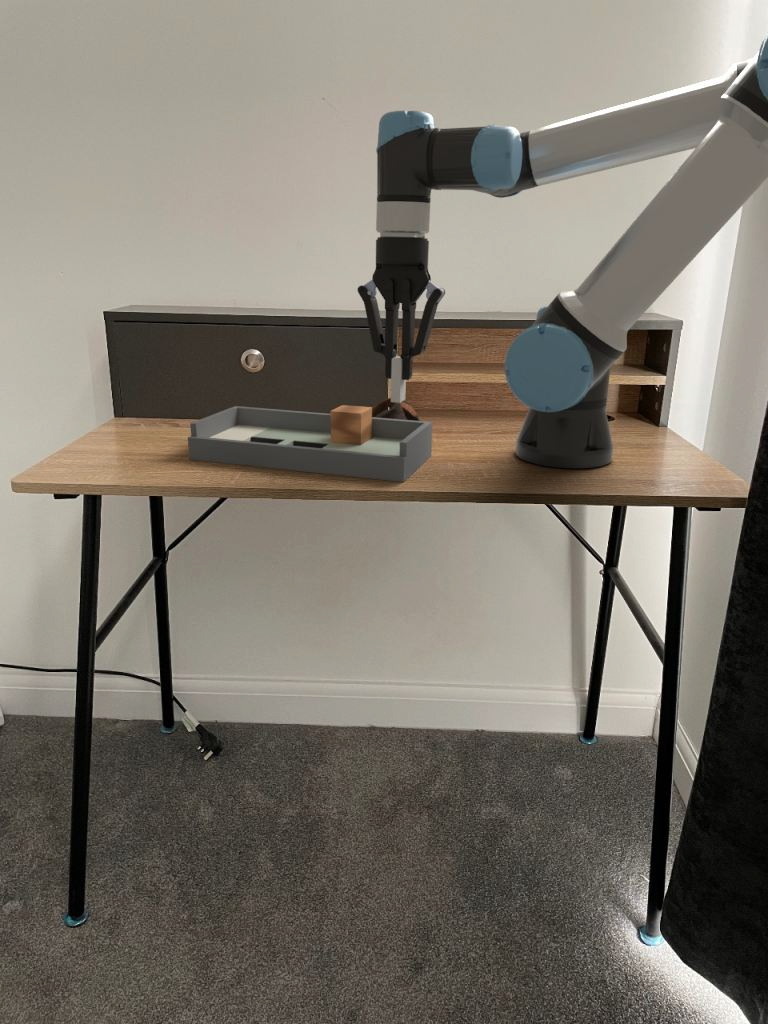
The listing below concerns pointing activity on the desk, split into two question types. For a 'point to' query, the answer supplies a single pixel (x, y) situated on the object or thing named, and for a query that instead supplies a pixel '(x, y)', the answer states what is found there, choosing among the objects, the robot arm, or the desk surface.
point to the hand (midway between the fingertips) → (398, 400)
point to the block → (351, 425)
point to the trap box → (309, 443)
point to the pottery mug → (395, 410)
